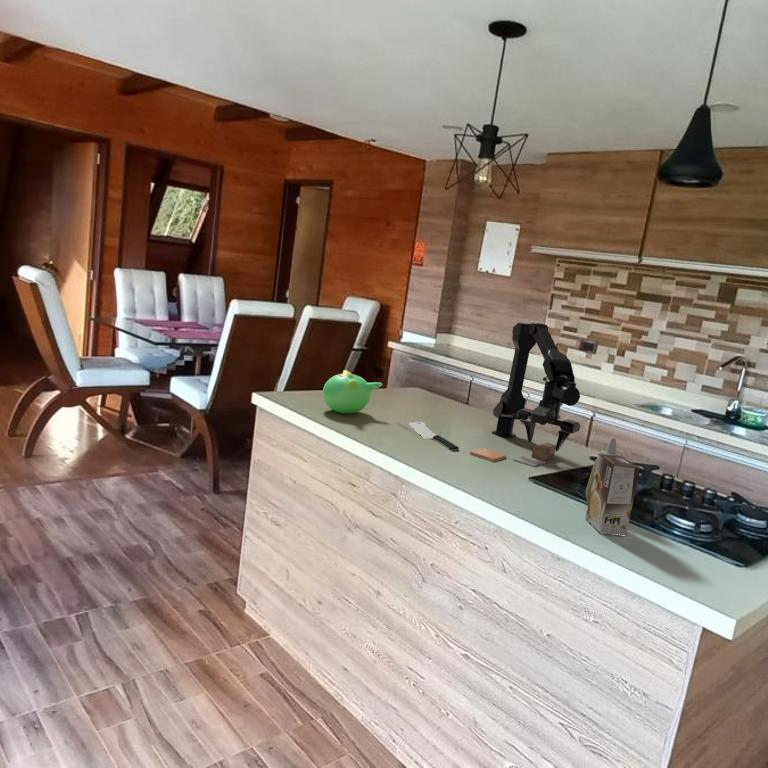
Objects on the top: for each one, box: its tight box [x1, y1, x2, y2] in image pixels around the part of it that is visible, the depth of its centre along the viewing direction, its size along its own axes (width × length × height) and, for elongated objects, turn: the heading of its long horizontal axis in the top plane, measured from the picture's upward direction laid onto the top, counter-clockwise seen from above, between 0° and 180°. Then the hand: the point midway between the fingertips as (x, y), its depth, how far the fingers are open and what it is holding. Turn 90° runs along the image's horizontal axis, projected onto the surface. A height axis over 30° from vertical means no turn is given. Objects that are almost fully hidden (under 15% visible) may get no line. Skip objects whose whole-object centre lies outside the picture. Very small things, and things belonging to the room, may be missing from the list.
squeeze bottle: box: [585, 437, 621, 504], centre depth 156 cm, size 8×8×18 cm
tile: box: [469, 447, 507, 463], centre depth 192 cm, size 1×8×8 cm
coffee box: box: [585, 453, 641, 536], centre depth 143 cm, size 9×6×16 cm
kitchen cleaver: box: [408, 421, 460, 452], centre depth 206 cm, size 31×2×10 cm
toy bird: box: [322, 369, 383, 415], centre depth 222 cm, size 18×17×15 cm
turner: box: [512, 442, 557, 468], centre depth 196 cm, size 18×7×4 cm, turn 140°
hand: (543, 447), depth 197 cm, fingers open, 9 cm apart
